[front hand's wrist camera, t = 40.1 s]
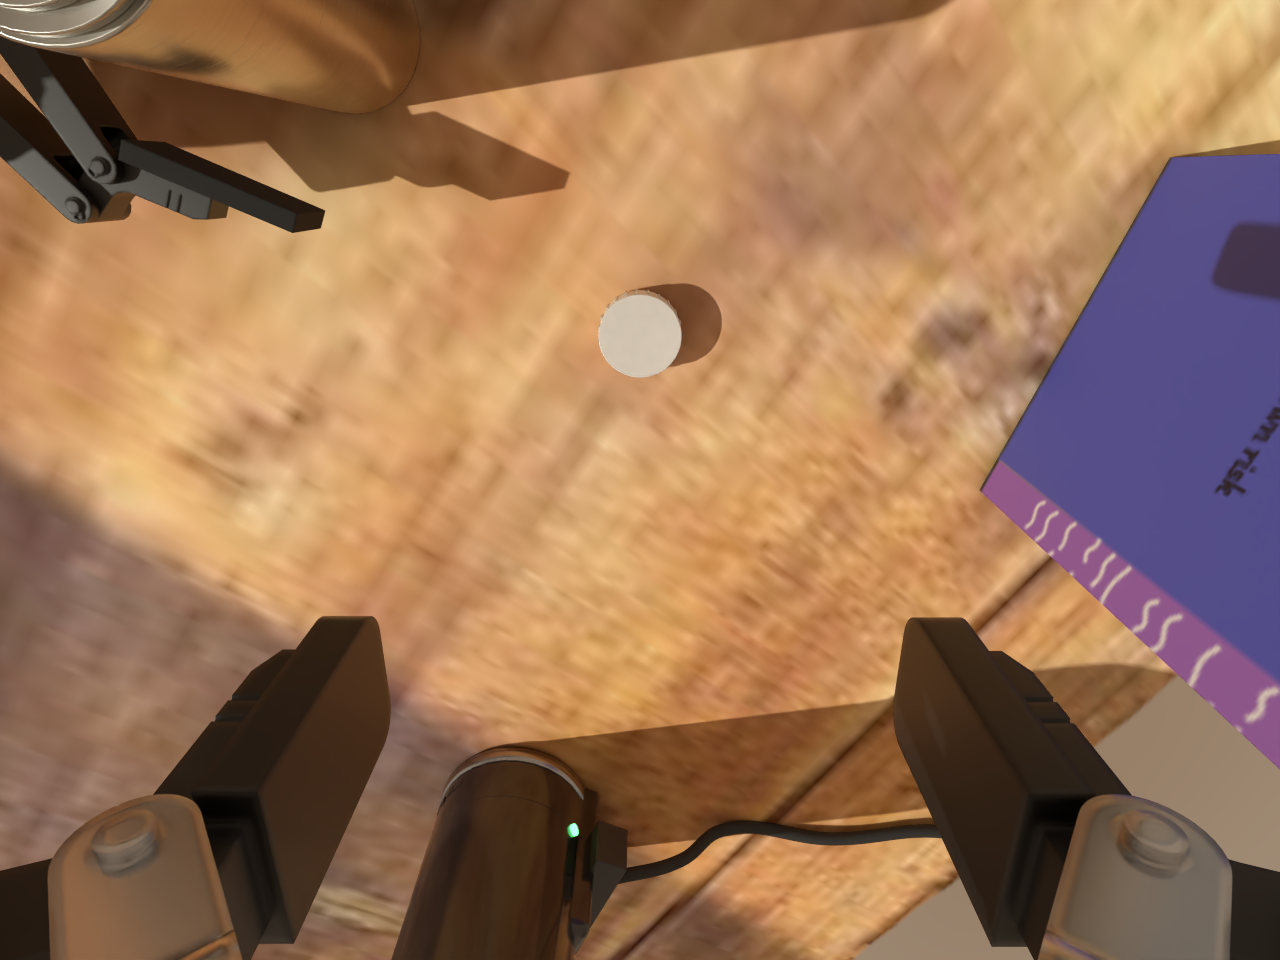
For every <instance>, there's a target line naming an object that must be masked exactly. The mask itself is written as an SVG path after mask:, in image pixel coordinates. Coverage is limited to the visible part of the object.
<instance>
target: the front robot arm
mask: <svg viewBox="0 0 1280 960" xmlns="http://www.w3.org/2000/svg"><path fill="white" fill-rule="evenodd" d="M390 714H391V705H390V696H389V689H388V682H387V675H386V668H385V662H384V655H383V648H382V641H381V635H380V629H379V625H378V622H377V620H376V619H375V618H374V617H373V616H323V617H321V618H319V619H318V620H317V621H316V623H315V624H314V625H313V627H312V628H311V629H310V631H309V632H308V633H307V635H306V636H305V638H304V639H303V640H302V642H301V643H300V644H299V646H298V647H297V648H296V650H281V651H280V652H279V653H277V654H276V655H274V656H273V657H271V658H270V659H268V660H267V661H265V662H264V663H262V664H261V665H260V666H258V667H257V668H255V669H254V670H252V671H251V672H250V674H249V675H248V676H247V677H246V679H245V680H244V681H243V682H242V684H241V685H240V686H239V687H238V689H237V690H236V691H235V693H234V694H233V695H232V700H231V701H227V703H226V704H225V705H224V706H223V708H222V709H221V710H220V711H219V713H218V714H217V715H216V720H215V722H211V723H210V724H209V725H208V726H207V728H206V729H205V730H204V731H203V733H202V734H201V735H200V736H199V738H198V739H197V740H196V741H195V743H194V744H193V745H192V747H191V748H190V749H189V750H188V752H187V753H186V754H185V755H184V757H183V758H182V759H181V760H180V762H179V763H178V764H177V765H176V767H175V768H174V769H173V770H172V772H171V773H170V774H169V775H168V777H167V778H166V779H165V780H164V782H163V783H162V784H161V785H160V787H159V788H158V789H157V790H156V792H155V793H154V794H153V795H151V796H145V797H141V798H137V799H133V800H130V801H127V802H125V803H122V804H119V805H117V806H115V807H113V808H110V809H108V810H106V811H105V812H103V813H101V814H99V815H97V816H96V817H94V818H93V819H91V820H90V821H88V822H86V823H85V824H84V825H82V826H81V827H80V828H79V829H77V830H76V831H75V832H74V833H73V834H72V835H71V836H70V837H69V838H68V839H66V840H65V842H64V843H63V844H62V845H61V846H60V848H59V849H58V850H57V852H56V853H55V855H54V857H53V858H51V859H48V860H44V861H39V862H35V863H31V864H27V865H23V866H19V867H14V868H10V869H6V870H2V871H0V960H251V958H252V956H253V954H254V952H255V950H256V948H257V946H258V944H294V942H295V940H296V938H297V935H298V933H299V931H300V929H301V927H302V924H303V922H304V920H305V918H306V916H307V913H308V911H309V909H310V907H311V905H312V903H313V900H314V898H315V896H316V894H317V892H318V889H319V887H320V885H321V883H322V881H323V878H324V876H325V874H326V872H327V870H328V867H329V865H330V863H331V861H332V859H333V856H334V854H335V852H336V850H337V848H338V845H339V843H340V841H341V839H342V837H343V834H344V832H345V830H346V828H347V826H348V823H349V821H350V819H351V817H352V815H353V812H354V810H355V808H356V806H357V804H358V801H359V799H360V797H361V795H362V793H363V791H364V788H365V786H366V784H367V782H368V780H369V777H370V775H371V773H372V771H373V769H374V766H375V764H376V762H377V760H378V758H379V755H380V753H381V751H382V749H383V747H384V744H385V742H386V738H387V735H388V730H389V724H390ZM893 718H894V727H895V733H896V737H897V740H898V744H899V746H900V748H901V751H902V753H903V755H904V757H905V759H906V761H907V764H908V766H909V768H910V770H911V772H912V774H913V777H914V779H915V781H916V783H917V785H918V787H919V790H920V792H921V794H922V796H923V798H924V801H925V803H926V805H927V807H928V809H929V811H930V814H931V816H932V818H933V820H934V822H935V824H936V825H904V826H895V827H887V828H880V829H873V830H865V831H855V832H832V833H831V832H816V831H808V830H802V829H796V828H791V827H787V826H782V825H777V824H772V823H765V822H757V821H734V822H728V823H723V824H719V825H716V826H714V827H712V828H710V829H709V830H707V831H706V832H705V833H703V834H702V835H701V836H700V837H699V838H698V839H697V840H696V841H695V842H694V843H693V844H692V845H691V846H690V847H689V848H688V849H686V850H685V851H684V852H682V853H680V854H678V855H675V856H673V857H671V858H668V859H665V860H662V861H658V862H654V863H650V864H645V865H640V866H634V867H629V868H627V830H625V829H622V828H619V827H616V826H613V825H611V824H608V823H605V822H602V821H598V822H597V819H598V804H599V795H598V794H597V793H595V792H592V791H590V790H588V789H586V788H584V786H583V784H582V782H581V781H580V779H579V778H578V777H577V775H576V774H575V773H574V772H573V771H572V770H571V769H570V768H569V767H568V766H566V765H565V764H564V763H562V762H561V761H559V760H557V759H556V758H554V757H552V756H549V755H547V754H545V753H542V752H539V751H535V750H531V749H525V748H498V749H492V750H488V751H485V752H482V753H479V754H477V755H474V756H472V757H471V758H469V759H467V760H466V761H464V762H463V763H462V764H460V765H459V766H458V767H457V768H456V769H455V770H454V771H453V773H452V774H451V776H450V777H449V779H448V781H447V783H446V786H445V788H444V792H443V795H442V798H441V802H440V807H439V810H438V813H437V819H436V822H435V825H434V828H433V831H432V834H431V837H430V840H429V843H428V847H427V850H426V853H425V856H424V859H423V862H422V865H421V868H420V872H419V875H418V878H417V881H416V884H415V887H414V890H413V894H412V897H411V900H410V903H409V906H408V909H407V912H406V915H405V919H404V922H403V925H402V928H401V931H400V934H399V937H398V941H397V944H396V947H395V950H394V953H393V956H392V959H391V960H574V956H575V954H576V953H577V951H578V950H579V948H580V946H581V945H582V943H583V942H584V940H585V939H586V937H587V935H588V932H589V929H590V927H591V926H592V924H593V923H594V921H595V920H596V918H597V916H598V915H599V913H600V912H601V910H602V908H603V907H604V905H605V904H606V902H607V900H608V899H609V897H610V896H611V894H612V892H613V891H614V889H615V888H616V886H617V885H618V884H621V883H625V882H630V881H636V880H641V879H646V878H651V877H655V876H659V875H663V874H666V873H669V872H672V871H674V870H677V869H679V868H681V867H683V866H685V865H687V864H689V863H690V862H692V861H693V860H694V859H695V858H697V857H698V856H699V855H700V854H701V853H702V852H703V851H704V850H705V849H706V848H707V847H708V846H709V845H710V844H711V843H712V842H713V841H715V840H716V839H718V838H721V837H724V836H728V835H733V834H761V835H767V836H773V837H778V838H782V839H787V840H792V841H797V842H802V843H809V844H817V845H856V844H866V843H874V842H881V841H889V840H896V839H905V838H923V837H928V838H942V840H943V842H944V844H945V846H946V848H947V850H948V853H949V855H950V857H951V859H952V861H953V863H954V866H955V868H956V870H957V872H958V874H959V876H960V879H961V881H962V883H963V885H964V887H965V889H966V892H967V894H968V896H969V898H970V900H971V902H972V905H973V907H974V909H975V911H976V913H977V915H978V918H979V920H980V922H981V924H982V926H983V928H984V931H985V933H986V935H987V937H988V939H989V941H990V944H991V946H992V947H1028V949H1029V951H1030V953H1031V955H1032V957H1033V959H1034V960H1280V872H1277V871H1273V870H1268V869H1264V868H1260V867H1256V866H1252V865H1248V864H1244V863H1239V862H1236V861H1232V860H1229V859H1228V858H1227V857H1226V855H1225V853H1224V852H1223V850H1222V849H1221V848H1220V846H1219V845H1218V844H1217V843H1216V842H1215V840H1213V839H1212V838H1211V837H1210V836H1209V835H1208V834H1207V833H1206V832H1205V831H1204V830H1203V829H1201V828H1200V827H1199V826H1198V825H1196V824H1195V823H1194V822H1192V821H1190V820H1189V819H1187V818H1186V817H1184V816H1183V815H1181V814H1179V813H1177V812H1175V811H1174V810H1172V809H1170V808H1167V807H1165V806H1163V805H1161V804H1158V803H1155V802H1152V801H1150V800H1147V799H1143V798H1139V797H1135V796H1132V795H1131V794H1130V793H1129V791H1128V790H1127V789H1126V788H1125V786H1124V785H1123V784H1122V783H1121V781H1120V780H1119V779H1118V778H1117V776H1116V775H1115V774H1114V773H1113V771H1112V770H1111V769H1110V768H1109V766H1108V765H1107V764H1106V763H1105V761H1104V760H1103V759H1102V758H1101V756H1100V755H1099V754H1098V753H1097V751H1096V750H1095V749H1094V748H1093V746H1092V745H1091V744H1090V743H1089V741H1088V740H1087V739H1086V738H1085V736H1084V735H1083V734H1082V733H1081V731H1080V730H1079V729H1078V728H1077V727H1076V725H1075V724H1071V723H1070V718H1069V717H1068V715H1067V714H1066V713H1065V712H1064V710H1063V709H1062V708H1061V707H1060V705H1059V704H1058V703H1057V702H1053V697H1052V695H1051V694H1050V693H1049V692H1048V690H1047V689H1046V688H1045V687H1044V685H1043V684H1042V683H1041V682H1040V680H1039V679H1038V678H1037V677H1036V675H1035V674H1034V673H1033V672H1032V671H1030V670H1029V669H1027V668H1026V667H1024V666H1023V665H1021V664H1020V663H1019V662H1017V661H1016V660H1014V659H1013V658H1011V657H1010V656H1008V655H1007V654H1005V653H1004V652H1002V651H989V650H988V649H987V648H986V646H985V645H984V644H983V642H982V641H981V640H980V638H979V637H978V635H977V634H976V633H975V631H974V630H973V629H972V627H971V626H970V625H969V623H968V622H967V621H966V620H965V619H963V618H910V619H909V620H908V622H907V624H906V626H905V630H904V636H903V642H902V649H901V656H900V662H899V669H898V676H897V682H896V689H895V696H894V703H893Z"/></svg>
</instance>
